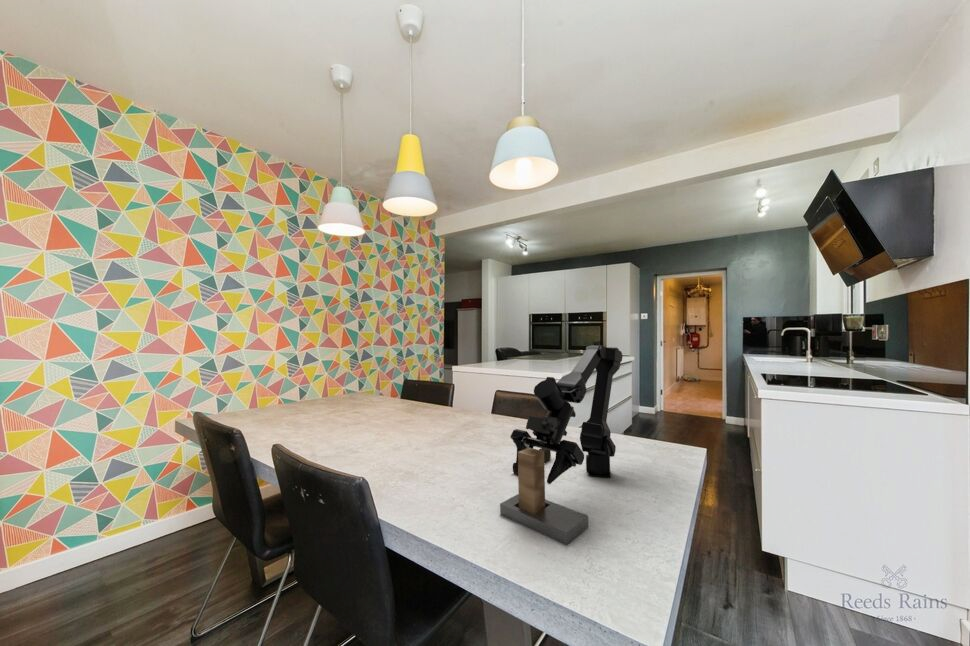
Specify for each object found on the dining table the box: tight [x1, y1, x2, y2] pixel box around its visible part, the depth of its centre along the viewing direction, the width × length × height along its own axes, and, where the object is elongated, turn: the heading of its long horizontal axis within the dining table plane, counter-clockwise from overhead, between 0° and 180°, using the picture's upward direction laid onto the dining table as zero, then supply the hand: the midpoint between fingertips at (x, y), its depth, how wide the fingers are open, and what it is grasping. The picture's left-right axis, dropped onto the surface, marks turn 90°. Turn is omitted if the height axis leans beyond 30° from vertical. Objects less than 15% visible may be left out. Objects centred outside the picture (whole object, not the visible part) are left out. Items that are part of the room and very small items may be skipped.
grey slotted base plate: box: [499, 493, 589, 546], centre depth 81 cm, size 18×9×2 cm, turn 46°
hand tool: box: [512, 448, 552, 476], centre depth 114 cm, size 19×4×5 cm, turn 136°
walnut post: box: [517, 447, 546, 515], centre depth 83 cm, size 4×4×15 cm
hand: (531, 477), depth 83 cm, fingers open, 9 cm apart
